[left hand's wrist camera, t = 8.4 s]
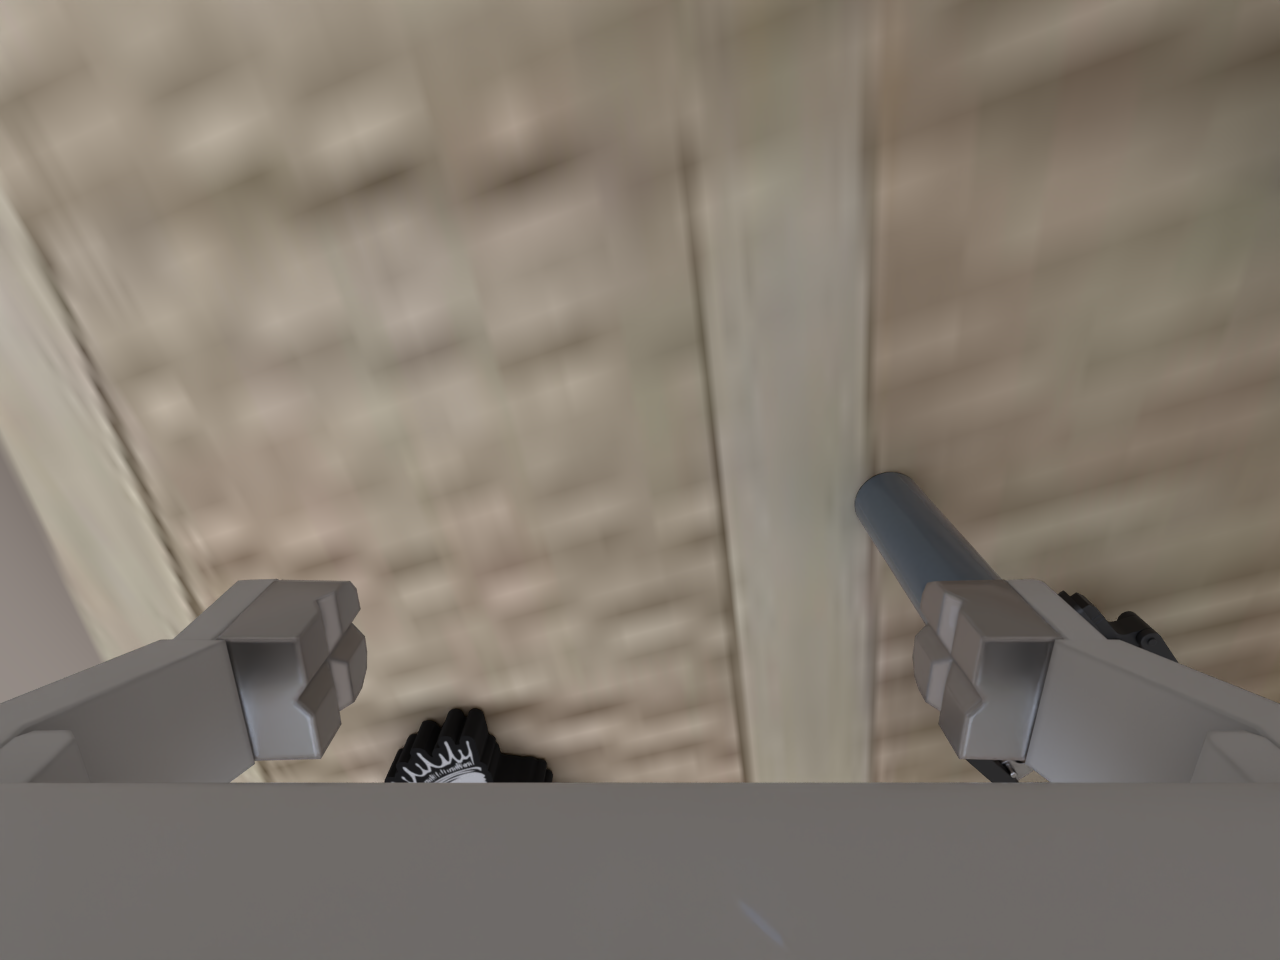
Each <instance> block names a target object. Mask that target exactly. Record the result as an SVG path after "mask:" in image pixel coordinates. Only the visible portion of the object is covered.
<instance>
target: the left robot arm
mask: <svg viewBox="0 0 1280 960" xmlns="http://www.w3.org/2000/svg"><path fill="white" fill-rule="evenodd" d="M359 611H360V604H359V599H358V594H357V589H356V587H355V586H354V585H353V584H352V583H351V582H350V581H324V580H278V579H257V580H240V581H237V582H236V583H235V584H234V585H233V586H232V587H231V588H229V589H228V590H227V591H226V592H225V593H224V594H223V595H222V596H221V597H219V598H218V599H217V600H216V601H215V602H214V603H213V604H212V605H211V606H209V607H208V608H207V609H206V610H205V611H204V612H203V613H202V614H200V615H199V616H198V617H197V618H196V619H195V620H194V621H193V622H192V623H190V624H189V625H188V626H187V627H186V628H185V629H184V630H183V631H182V632H180V633H179V634H178V635H177V636H176V637H175V638H174V639H173V640H159V641H156V642H154V643H151V644H149V645H146V646H144V647H141V648H139V649H136V650H133V651H131V652H128V653H126V654H123V655H121V656H118V657H116V658H113V659H111V660H108V661H106V662H103V663H101V664H98V665H96V666H93V667H91V668H88V669H86V670H83V671H81V672H78V673H76V674H73V675H71V676H68V677H66V678H63V679H61V680H58V681H56V682H53V683H51V684H48V685H46V686H43V687H41V688H38V689H35V690H33V691H30V692H28V693H25V694H23V695H20V696H18V697H15V698H13V699H10V700H8V701H5V702H3V703H0V960H1280V704H1279V703H1277V702H1274V701H1272V700H1269V699H1267V698H1264V697H1262V696H1259V695H1257V694H1254V693H1252V692H1249V691H1247V690H1244V689H1242V688H1239V687H1237V686H1234V685H1232V684H1229V683H1227V682H1224V681H1222V680H1219V679H1217V678H1214V677H1212V676H1209V675H1207V674H1204V673H1202V672H1199V671H1197V670H1194V669H1192V668H1189V667H1187V666H1184V665H1182V664H1179V663H1177V662H1174V661H1172V660H1169V659H1167V658H1164V657H1162V656H1159V655H1156V654H1154V653H1151V652H1149V651H1146V650H1144V649H1141V648H1139V647H1136V646H1134V645H1131V644H1129V643H1126V642H1124V641H1121V640H1107V639H1106V638H1105V637H1104V636H1103V635H1102V634H1101V633H1100V632H1099V631H1097V630H1096V629H1095V628H1094V627H1093V626H1092V625H1091V624H1090V623H1089V622H1087V621H1086V620H1085V619H1084V618H1083V617H1082V616H1081V615H1080V614H1079V613H1077V612H1076V611H1075V610H1074V609H1073V608H1072V607H1071V606H1070V605H1069V604H1067V603H1066V602H1065V601H1064V600H1063V599H1062V598H1061V597H1060V596H1059V595H1057V594H1056V593H1055V592H1054V591H1053V590H1052V589H1051V588H1050V587H1049V586H1047V585H1046V584H1045V583H1044V582H1043V581H1040V580H1036V579H1017V580H962V581H934V582H928V583H927V584H926V586H925V588H924V591H923V593H922V598H921V603H920V611H921V612H922V614H923V615H924V617H925V618H926V620H927V622H928V623H927V624H926V625H925V626H924V628H923V629H922V630H921V631H920V632H919V633H918V634H917V635H916V636H915V641H914V650H913V666H914V676H915V679H916V683H917V686H918V689H919V691H920V693H921V695H922V696H923V698H924V700H925V702H926V703H928V704H930V705H931V706H933V707H935V708H936V709H938V710H939V711H941V712H940V718H939V726H940V727H941V729H942V731H943V732H944V734H945V736H946V737H947V739H948V741H949V742H950V744H951V746H952V747H953V749H954V751H955V753H956V754H957V756H958V758H959V759H982V760H1019V761H1025V764H1026V765H1028V766H1029V767H1030V768H1032V769H1033V770H1035V771H1036V772H1037V773H1039V774H1040V775H1041V776H1043V777H1044V778H1045V779H1047V780H1048V781H1049V782H1051V783H230V782H231V781H232V780H234V779H235V778H236V777H238V776H239V775H240V774H242V773H243V772H244V771H246V770H247V769H248V768H250V767H251V766H253V765H254V764H255V762H254V761H260V760H296V759H321V758H322V756H323V754H324V753H325V751H326V749H327V748H328V746H329V744H330V743H331V741H332V739H333V737H334V736H335V734H336V732H337V731H338V729H339V727H340V726H341V718H340V712H339V711H341V710H342V709H344V708H345V707H347V706H349V705H350V704H352V703H354V702H355V700H356V698H357V696H358V694H359V693H360V691H361V689H362V686H363V682H364V678H365V674H366V670H367V647H366V640H365V636H364V635H363V634H362V633H361V632H360V631H359V630H358V629H357V628H356V626H355V625H354V624H353V623H352V622H353V620H354V618H355V617H356V615H357V614H358V612H359Z"/></svg>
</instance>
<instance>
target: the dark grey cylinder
mask: <svg viewBox="0 0 1280 960" xmlns="http://www.w3.org/2000/svg"><path fill="white" fill-rule="evenodd" d="M855 511H856V514H857V517H858V518H859V520H860V522H861V523H862V525H863V526H864V528H865V530H866V531H867V533H868V534H869V536H870V538H871V539H872V541H873V542H874V544H875V545H876V547H877V549H878V550H879V552H880V553H881V555H882V557H883V558H884V560H885V561H886V563H887V564H888V566H889V568H890V569H891V571H892V572H893V574H894V576H895V577H896V579H897V580H898V582H899V583H900V585H901V587H902V588H903V590H904V591H905V593H906V595H907V596H908V598H909V599H910V601H911V602H912V604H913V606H914V607H915V609H916V610H917V612H918V614H919V615H920V617H921V618H922V620H923V621H924V623H925V625H926V624H927V623H928V622H927V620H926V618H925V617H924V615H923V614H922V612H921V611H920V603H921V598H922V593H923V591H924V588H925V586H926V584H927V583H928V582H934V581H962V580H1002V579H1001V578H1000V576H999V575H998V574H997V573H996V572H995V571H994V570H993V569H992V568H991V566H990V565H989V564H988V563H987V562H986V561H985V560H984V559H983V558H982V556H981V555H980V554H979V553H978V552H977V551H976V550H975V549H974V548H973V546H972V545H971V544H970V543H969V542H968V541H967V540H966V539H965V538H964V536H963V535H962V534H961V533H960V532H959V531H958V530H957V529H956V528H955V526H954V525H953V524H952V523H951V522H950V521H949V520H948V519H947V518H946V516H945V515H944V514H943V513H942V512H941V511H940V510H939V509H938V508H937V507H936V505H935V504H934V503H933V502H932V501H931V500H930V499H929V498H928V497H927V495H926V494H925V493H924V492H923V491H922V490H921V489H920V488H919V487H918V485H917V484H916V483H915V482H914V481H913V480H912V479H911V478H909V477H908V476H906V475H904V474H901V473H896V472H887V473H882V474H879V475H876V476H874V477H872V478H871V479H869V480H868V481H867V482H866V483H864V485H863V486H862V487H861V488H860V490H859V492H858V493H857V496H856V499H855Z"/></svg>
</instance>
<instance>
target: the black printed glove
mask: <svg viewBox="0 0 1280 960" xmlns="http://www.w3.org/2000/svg"><path fill="white" fill-rule="evenodd" d="M546 767H547V763H546V762H545V761H544V760H542V759H539V760H537V759H535V758H534V757H524V758H522V757H519V756H512V755H504V754H501V753H500V749H499V746H498V744H497V743H496V742H495V737H494V736H492V735H489V734H488V729H487V725H486V722H485V718H484V714H483V712H482V711H481V710H479V709H472V710H470V712H469V714H468V717H464V715H463V713H462V711H461V710H459V709H452V710H451V711H449V713H448V715H447V718H446V721H445V723H444V724H443V726H442V729H441V728H440V727H439V726H438V725H437V724H436V722H433V721H424V722H423V723H422V725H421V727H420V729H419V732H418V734H412V735H410V736H409V737H408V739H407V742H406V744H405V746H404V748H403V749H399V750H398V752H397V754H396V756H395V759H394V761H393V763H392V765H391V767H390V770H389V772H388V774H387V776H386V779H385V783H552V778H553V774H552V772H551V771H550V770H547V769H546Z"/></svg>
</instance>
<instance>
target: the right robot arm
mask: <svg viewBox="0 0 1280 960" xmlns="http://www.w3.org/2000/svg"><path fill="white" fill-rule="evenodd" d="M1057 595H1059V596H1060V597H1061V598H1062V599H1063V600H1064V601H1065V602H1066V603H1067V604H1069V605H1070V606H1071V607H1072V608H1073V609H1074V610H1075V611H1076V612H1077V613H1079V614H1080V615H1081V616H1082V617H1083V618H1084V619H1085V620H1086V621H1087V622H1089V623H1090V624H1091V625H1092V626H1093V627H1094V628H1095V629H1096V630H1097V631H1099V632H1100V633H1101V634H1102V635H1103V636H1104V637H1105V638H1106V639H1107V640H1121V641H1124V642H1126V643H1129V644H1131V645H1134V646H1136V647H1139V648H1141V649H1144V650H1146V651H1149V652H1151V653H1154V654H1156V655H1159V656H1162V657H1164V658H1167V659H1169V660H1172V661H1174V662H1177V660H1176V659H1175V657H1174V656H1173V654H1172V653H1171V651H1170V650H1169V648H1168V647H1167V645H1166V644H1165V642H1164V641H1163V639H1162V638H1161V636H1160V635H1159V634H1158V633H1157V632H1156V631H1154V630H1153V629H1152V628H1151V627H1150V626H1149V625H1148V624H1146V623H1145V622H1144V621H1143V620H1142V619H1141V618H1140V617H1139V616H1137V615H1136V614H1135V613H1134V612H1131V611H1127V612H1124V613H1122V614H1121V615H1120V616H1119V617H1118V620H1117V621H1114V622H1107V620H1106V619H1105V618H1104V617H1103V615H1102V614H1101V613H1100V612H1099V611H1098V609H1097V608H1096V607H1095V606H1094V605H1093V604H1092V603H1091V602H1090V601H1088V600H1087V599H1086V598H1085V597H1084V596H1083V595H1081V594H1079V593H1075V594H1073V595H1072V596H1069V595H1068V594H1067V593H1066V592H1065V591H1062V592H1060V593H1059V594H1057ZM1177 663H1178V662H1177ZM966 760H967V761H968V762H969V763H970V764H971V765H973V766H974V767H975V768H976V769H977V770H978V771H979V772H981V773H982V774H983V775H984V776H985V777H986V778H987V779H989V780H990V781H991V782H992V783H1019V782H1018V780H1020V779H1021V778H1023V777H1024V776H1026V775H1027V774H1029V773H1030V772H1032V771H1033V769H1032V768H1030V767H1029V766H1028V765H1026V764H1025V761H1019V760H982V759H966Z"/></svg>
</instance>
